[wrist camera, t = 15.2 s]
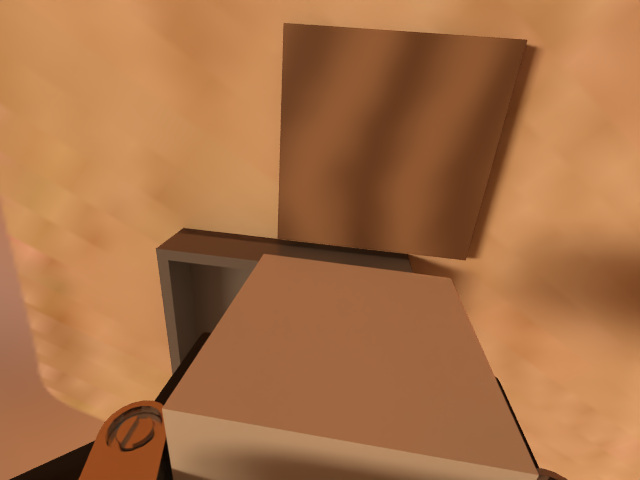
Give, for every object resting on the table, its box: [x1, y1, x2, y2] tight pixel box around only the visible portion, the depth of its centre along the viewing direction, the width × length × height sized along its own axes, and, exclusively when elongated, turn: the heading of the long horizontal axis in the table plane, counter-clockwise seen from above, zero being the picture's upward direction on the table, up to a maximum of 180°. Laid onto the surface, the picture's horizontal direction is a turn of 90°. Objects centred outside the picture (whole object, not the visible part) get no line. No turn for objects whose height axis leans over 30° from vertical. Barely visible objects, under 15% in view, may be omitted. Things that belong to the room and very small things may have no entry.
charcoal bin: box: [156, 228, 413, 374], centre depth 28 cm, size 18×18×4 cm
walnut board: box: [278, 23, 527, 260], centre depth 23 cm, size 14×14×1 cm
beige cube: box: [162, 254, 539, 480], centre depth 9 cm, size 6×6×6 cm
